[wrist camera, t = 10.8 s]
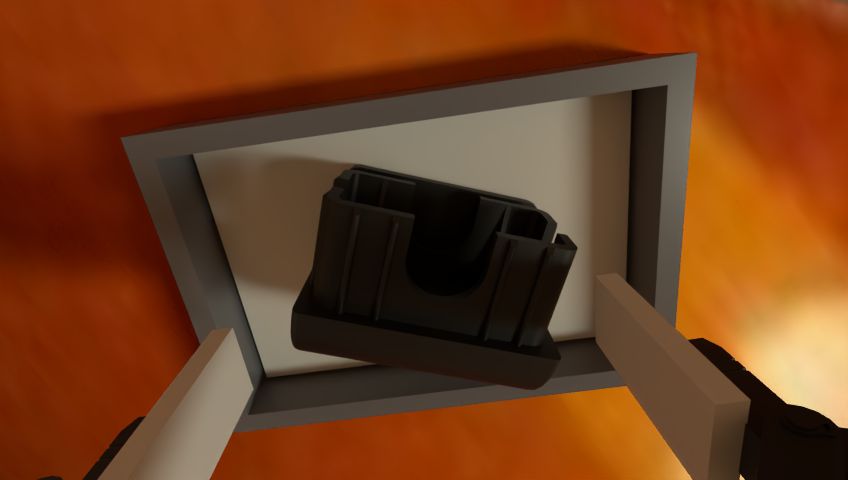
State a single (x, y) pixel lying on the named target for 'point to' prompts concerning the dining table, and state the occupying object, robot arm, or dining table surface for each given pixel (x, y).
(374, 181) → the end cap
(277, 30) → the dining table surface
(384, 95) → the shallow grey tray
